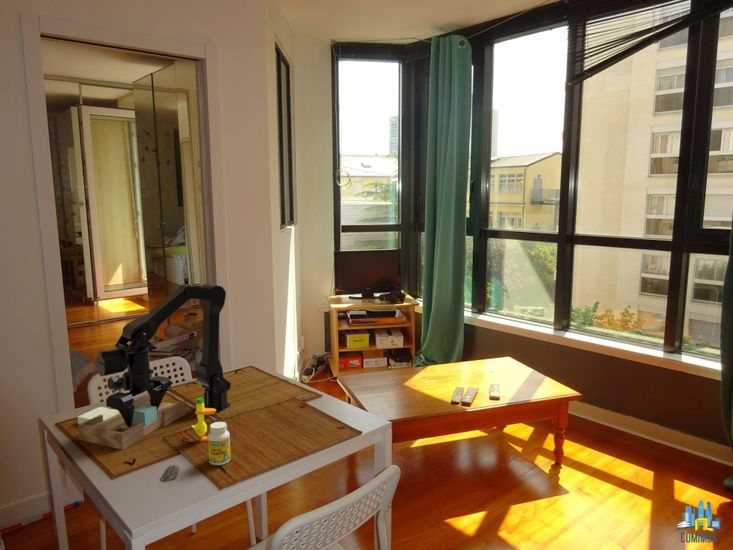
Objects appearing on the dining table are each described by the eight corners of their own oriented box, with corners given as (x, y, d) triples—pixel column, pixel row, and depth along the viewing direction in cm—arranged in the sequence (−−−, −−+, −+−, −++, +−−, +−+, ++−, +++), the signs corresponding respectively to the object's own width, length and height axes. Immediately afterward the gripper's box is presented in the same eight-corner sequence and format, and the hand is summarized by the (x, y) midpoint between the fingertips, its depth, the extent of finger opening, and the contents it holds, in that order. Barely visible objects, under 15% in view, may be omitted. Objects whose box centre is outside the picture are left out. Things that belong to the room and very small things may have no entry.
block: (157, 420, 150) (156, 406, 149) (145, 426, 146) (144, 412, 145) (144, 417, 152) (144, 404, 151) (133, 423, 147) (132, 410, 147)
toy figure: (217, 436, 146) (216, 395, 144) (216, 442, 142) (214, 400, 140) (192, 437, 145) (191, 396, 143) (190, 443, 141) (188, 401, 139)
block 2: (179, 472, 129) (180, 465, 129) (175, 483, 123) (176, 476, 123) (164, 471, 128) (165, 464, 128) (159, 483, 122) (160, 475, 122)
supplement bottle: (230, 454, 135) (229, 419, 134) (230, 464, 130) (229, 428, 129) (209, 456, 134) (208, 421, 133) (207, 467, 129) (206, 430, 127)
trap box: (186, 414, 160) (186, 400, 160) (122, 449, 137) (121, 434, 137) (147, 406, 166) (146, 393, 165) (79, 439, 143) (78, 424, 142)
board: (125, 418, 157) (125, 411, 156) (103, 429, 149) (103, 422, 149) (100, 413, 160) (100, 406, 160) (78, 423, 153) (77, 416, 153)
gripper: (141, 355, 157) (144, 404, 159) (88, 374, 139) (92, 429, 142) (171, 359, 153) (173, 409, 155) (120, 379, 136) (124, 436, 138)
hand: (141, 420), depth 147 cm, fingers open, 9 cm apart
